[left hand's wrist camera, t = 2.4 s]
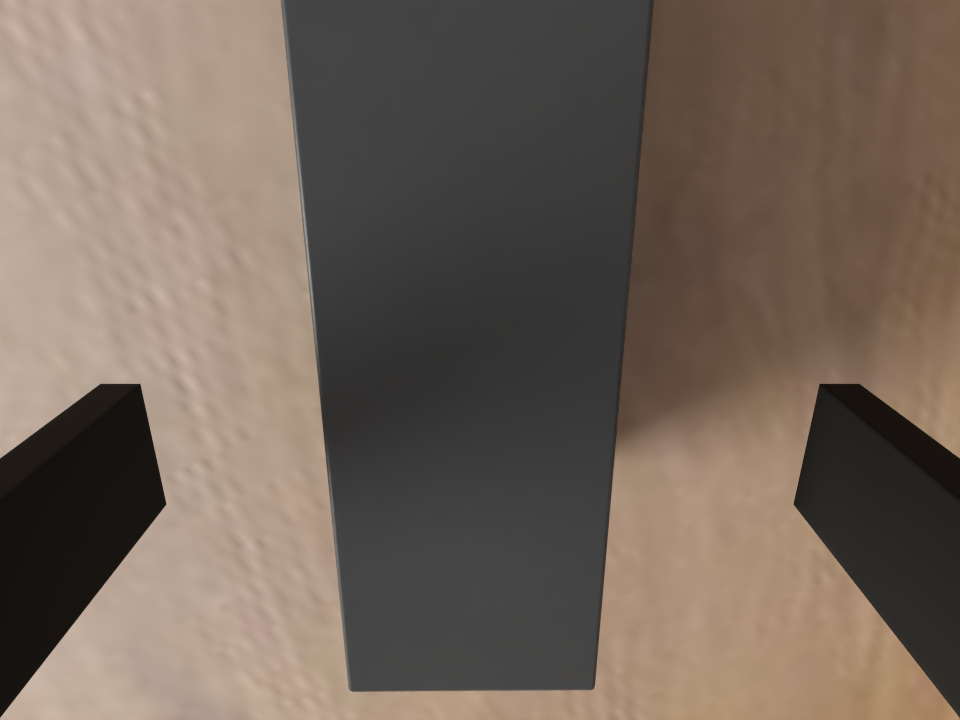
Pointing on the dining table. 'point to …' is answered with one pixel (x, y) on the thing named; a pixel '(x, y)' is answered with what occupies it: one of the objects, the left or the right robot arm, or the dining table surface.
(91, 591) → the left robot arm
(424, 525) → the bar
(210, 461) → the dining table surface
